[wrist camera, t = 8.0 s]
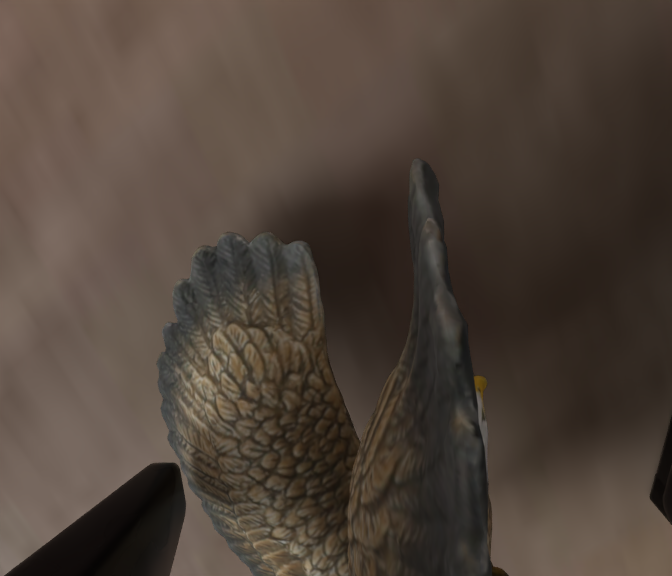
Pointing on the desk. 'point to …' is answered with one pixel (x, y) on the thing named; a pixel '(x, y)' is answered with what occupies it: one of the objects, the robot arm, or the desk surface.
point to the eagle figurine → (327, 416)
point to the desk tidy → (663, 473)
